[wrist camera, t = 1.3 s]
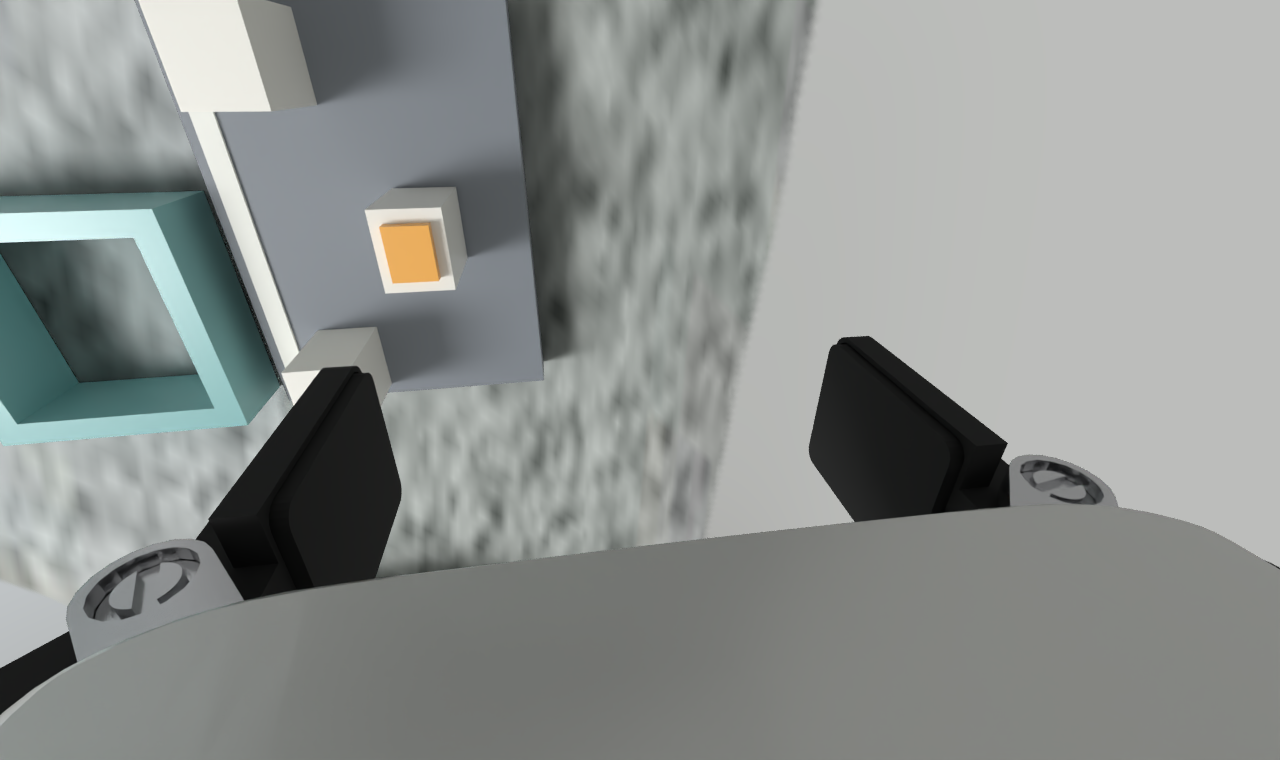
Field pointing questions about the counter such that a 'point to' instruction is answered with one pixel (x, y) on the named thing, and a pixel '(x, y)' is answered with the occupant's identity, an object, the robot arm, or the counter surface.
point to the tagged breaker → (418, 239)
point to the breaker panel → (360, 176)
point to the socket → (194, 295)
